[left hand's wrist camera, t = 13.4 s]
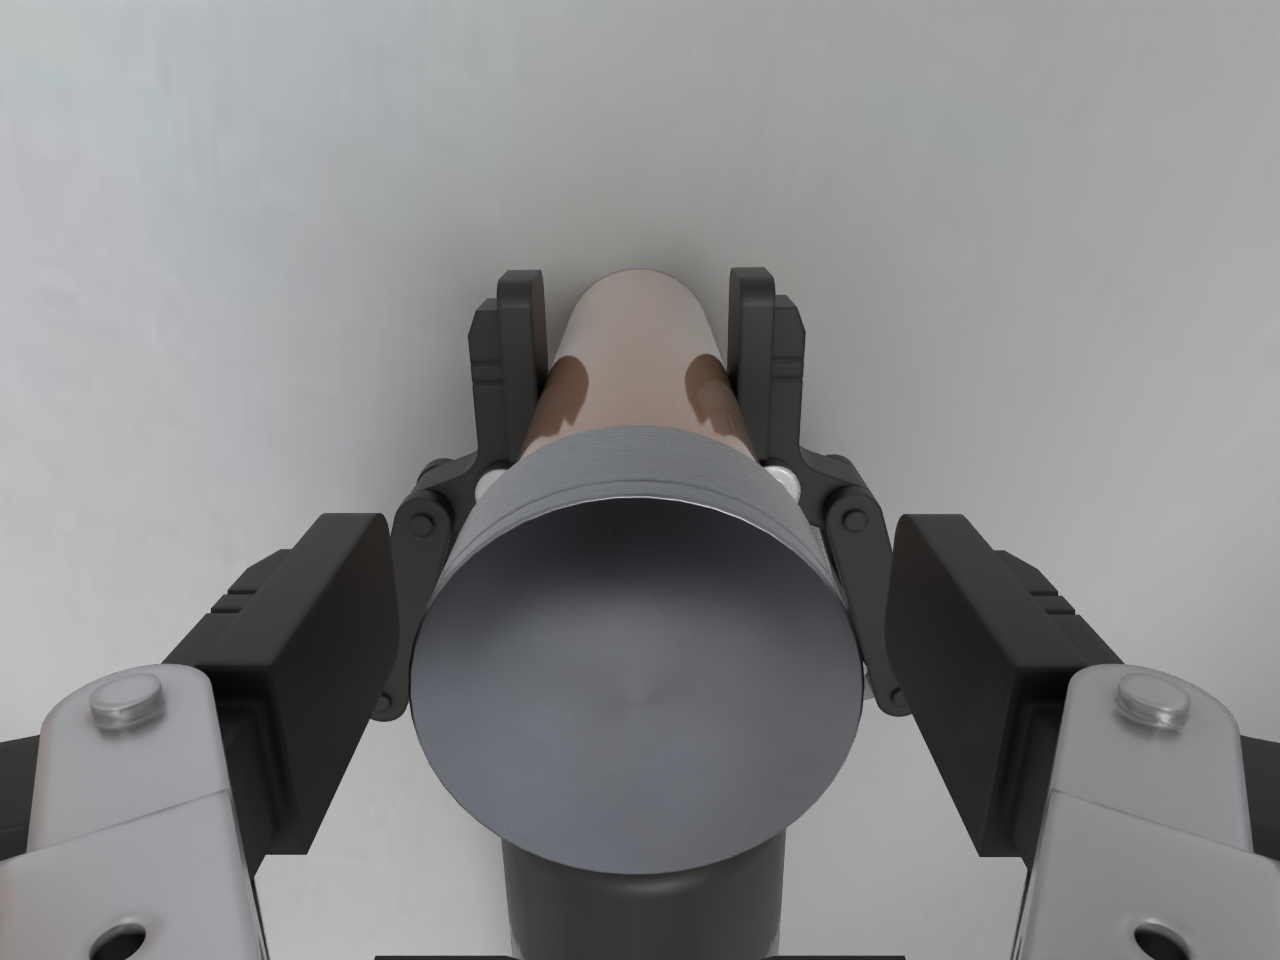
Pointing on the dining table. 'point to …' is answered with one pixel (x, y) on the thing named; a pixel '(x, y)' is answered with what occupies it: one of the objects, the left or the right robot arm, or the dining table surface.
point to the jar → (638, 366)
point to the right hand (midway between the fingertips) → (634, 278)
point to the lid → (636, 655)
